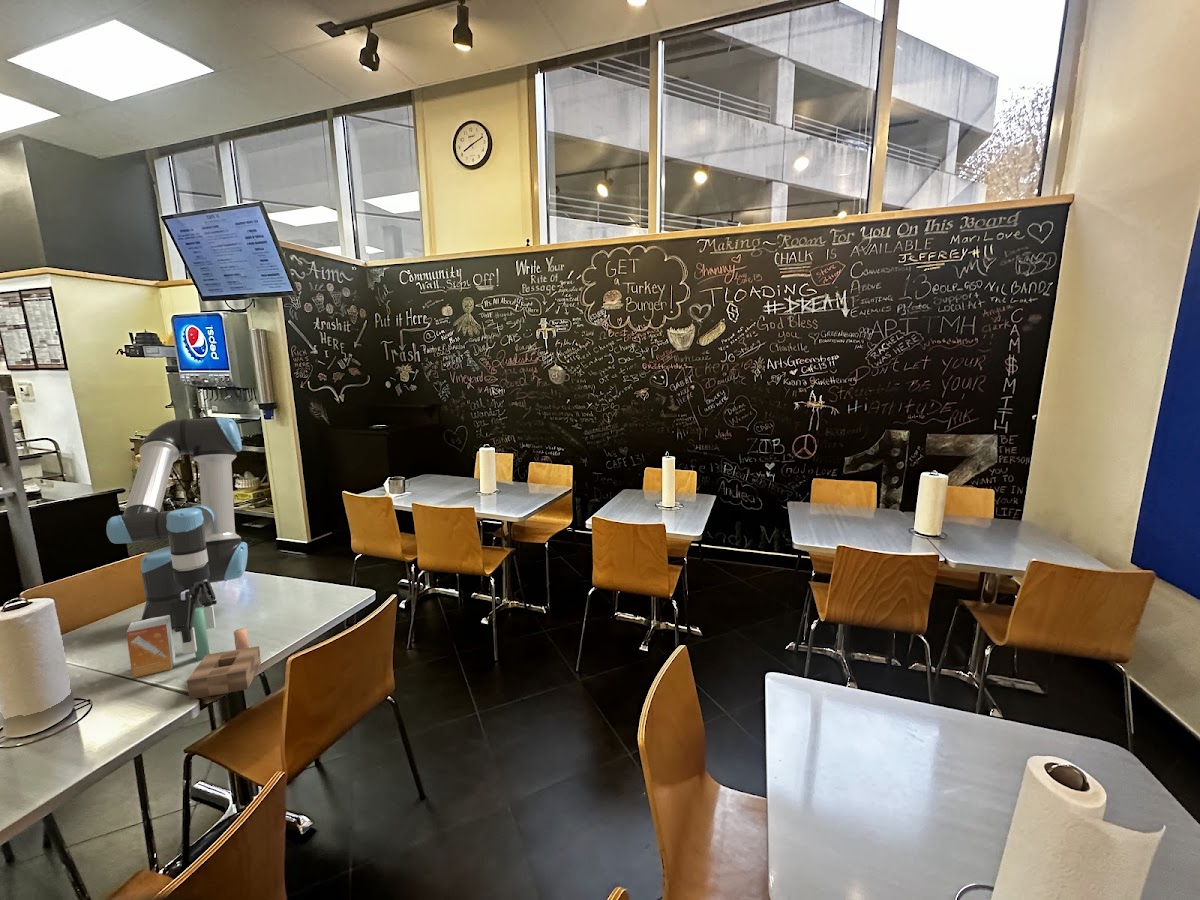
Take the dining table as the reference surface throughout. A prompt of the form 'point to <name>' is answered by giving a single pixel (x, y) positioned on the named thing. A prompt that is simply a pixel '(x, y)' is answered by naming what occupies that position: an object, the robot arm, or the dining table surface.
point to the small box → (150, 646)
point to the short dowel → (241, 639)
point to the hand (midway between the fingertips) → (200, 639)
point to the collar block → (224, 672)
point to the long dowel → (200, 633)
